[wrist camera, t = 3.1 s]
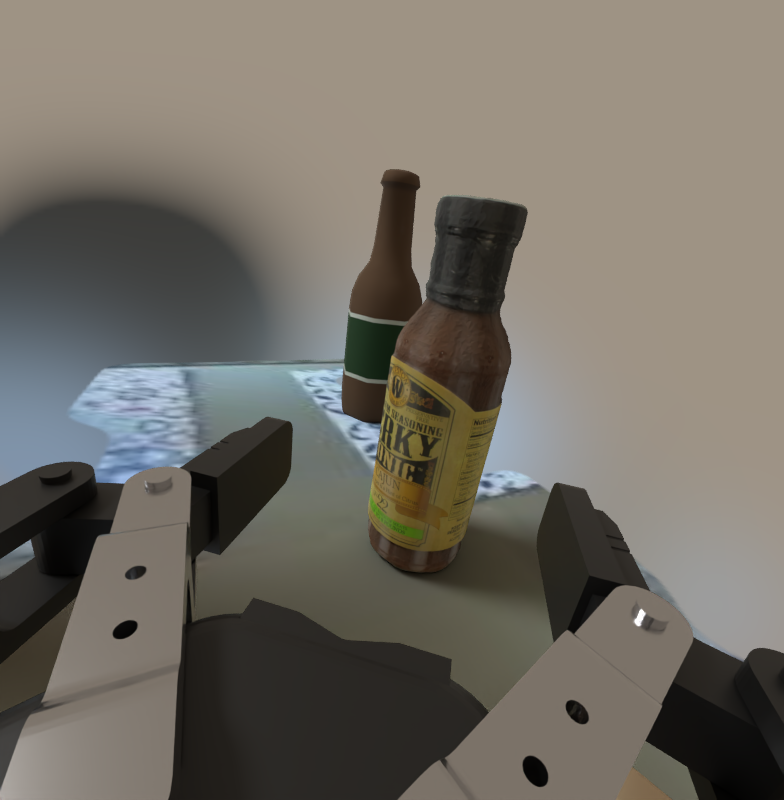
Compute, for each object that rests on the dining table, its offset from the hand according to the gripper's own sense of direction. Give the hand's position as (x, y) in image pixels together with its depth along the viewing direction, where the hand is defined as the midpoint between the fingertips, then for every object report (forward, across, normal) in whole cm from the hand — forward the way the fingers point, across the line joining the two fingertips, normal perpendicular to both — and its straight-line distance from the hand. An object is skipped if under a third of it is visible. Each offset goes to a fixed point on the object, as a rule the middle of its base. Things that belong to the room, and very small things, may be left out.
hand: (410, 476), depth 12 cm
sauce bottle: (+10, 0, +11) cm, 15 cm away
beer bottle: (+30, +8, +11) cm, 33 cm away
